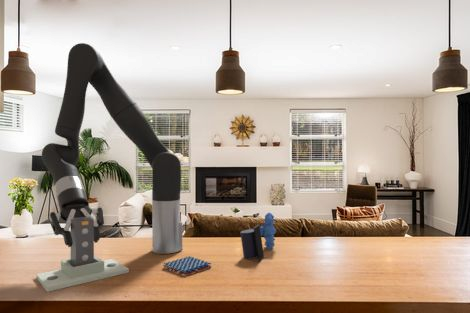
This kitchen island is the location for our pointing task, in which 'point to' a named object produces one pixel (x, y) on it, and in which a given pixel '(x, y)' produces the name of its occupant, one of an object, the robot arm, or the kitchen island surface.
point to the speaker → (252, 243)
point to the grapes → (268, 230)
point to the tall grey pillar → (82, 241)
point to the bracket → (80, 273)
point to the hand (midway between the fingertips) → (84, 242)
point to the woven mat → (186, 266)
